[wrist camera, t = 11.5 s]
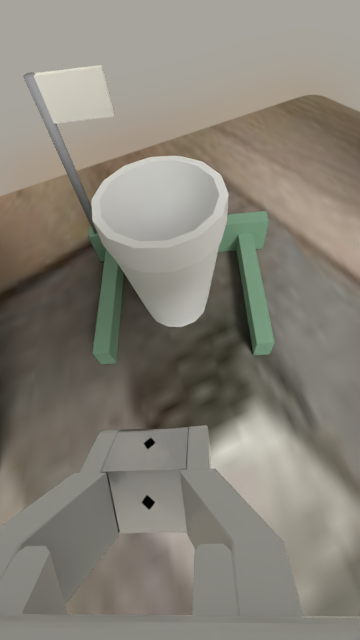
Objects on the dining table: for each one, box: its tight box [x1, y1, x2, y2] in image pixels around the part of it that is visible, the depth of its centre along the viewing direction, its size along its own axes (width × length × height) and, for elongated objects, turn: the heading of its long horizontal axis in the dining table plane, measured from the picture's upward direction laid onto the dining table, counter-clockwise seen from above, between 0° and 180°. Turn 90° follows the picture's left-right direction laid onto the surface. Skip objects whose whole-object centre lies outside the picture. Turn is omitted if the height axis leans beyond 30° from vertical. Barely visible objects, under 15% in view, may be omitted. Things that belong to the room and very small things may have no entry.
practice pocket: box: [24, 65, 275, 364], centre depth 24 cm, size 14×19×18 cm
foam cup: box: [92, 156, 229, 327], centre depth 26 cm, size 10×9×13 cm
